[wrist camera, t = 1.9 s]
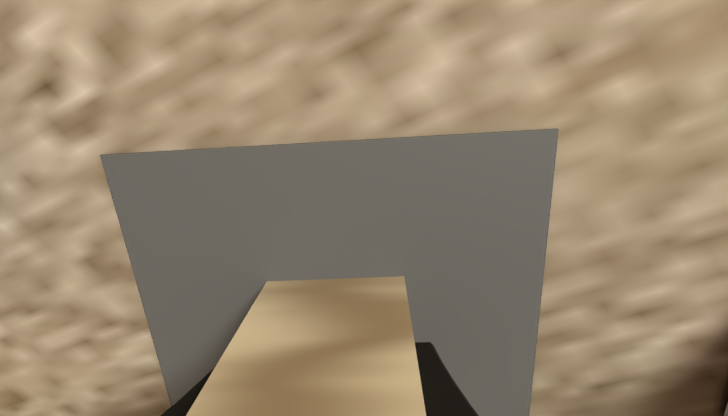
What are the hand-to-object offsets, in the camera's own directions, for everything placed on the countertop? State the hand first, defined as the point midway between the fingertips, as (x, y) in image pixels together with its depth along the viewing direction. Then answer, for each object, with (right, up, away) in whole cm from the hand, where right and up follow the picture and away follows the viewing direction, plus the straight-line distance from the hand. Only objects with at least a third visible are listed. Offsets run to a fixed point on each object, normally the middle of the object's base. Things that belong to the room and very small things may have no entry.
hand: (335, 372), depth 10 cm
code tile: (0, +1, +2) cm, 2 cm away
